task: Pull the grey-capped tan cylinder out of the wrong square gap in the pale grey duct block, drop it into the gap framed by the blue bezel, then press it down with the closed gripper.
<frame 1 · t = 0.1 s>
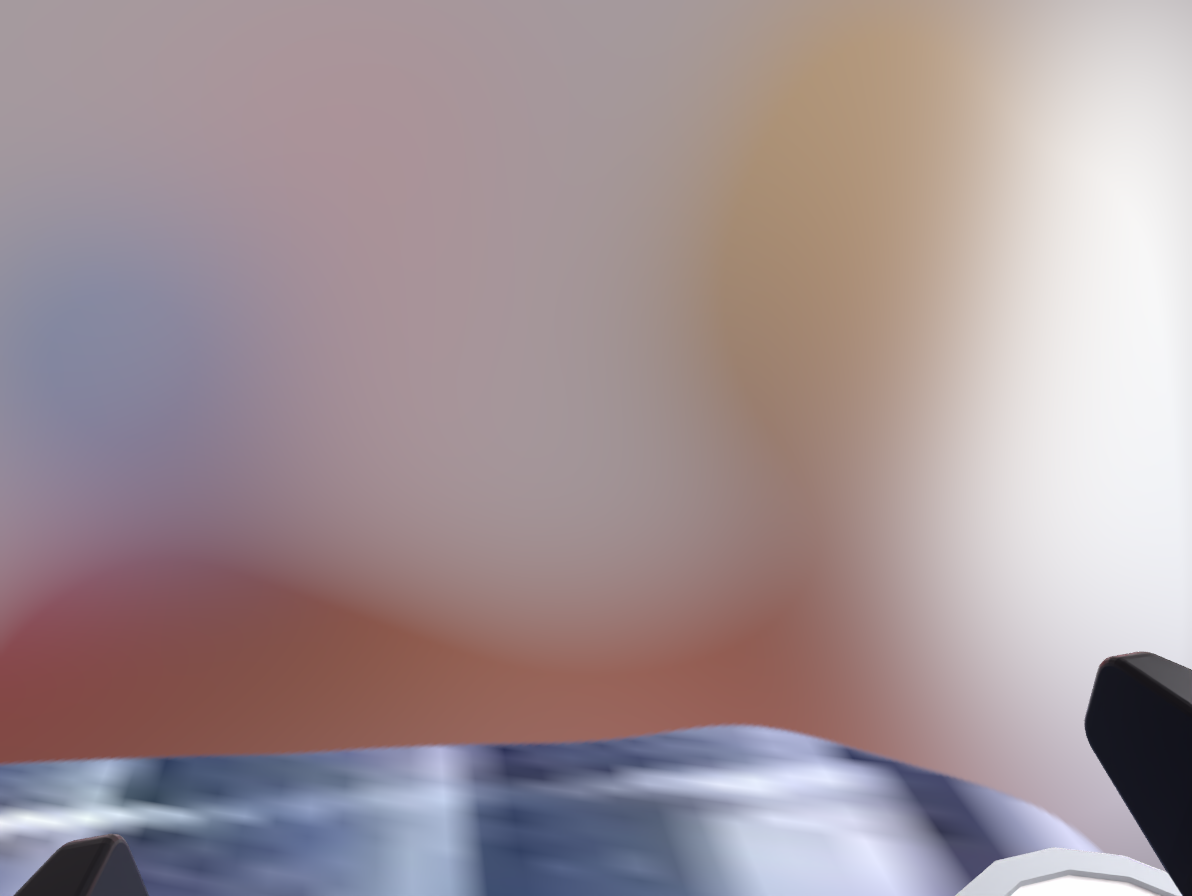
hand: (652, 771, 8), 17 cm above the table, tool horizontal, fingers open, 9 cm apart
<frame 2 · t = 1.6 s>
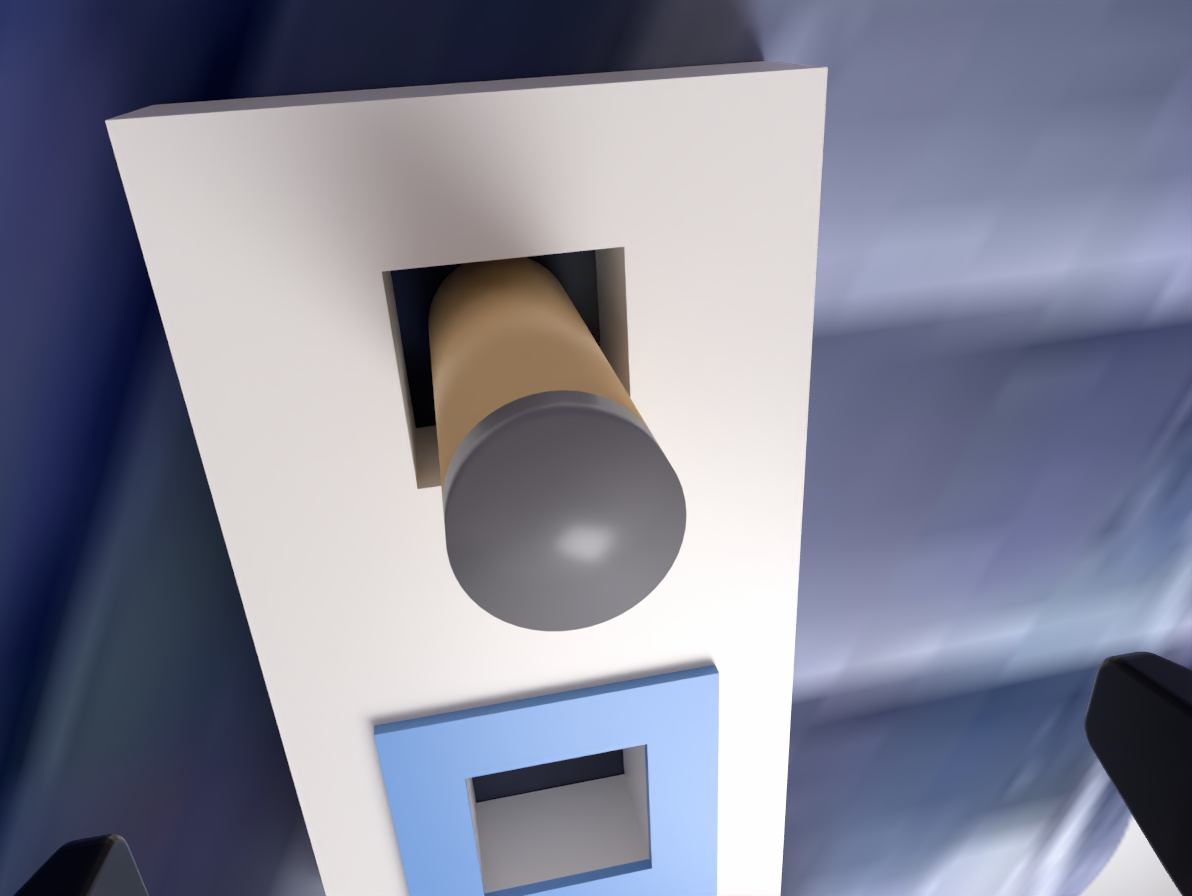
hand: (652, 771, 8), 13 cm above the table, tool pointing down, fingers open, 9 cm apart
duct block: (525, 553, 22), on the table
grey-capped tan cylinder: (501, 324, 19), resting in duct block
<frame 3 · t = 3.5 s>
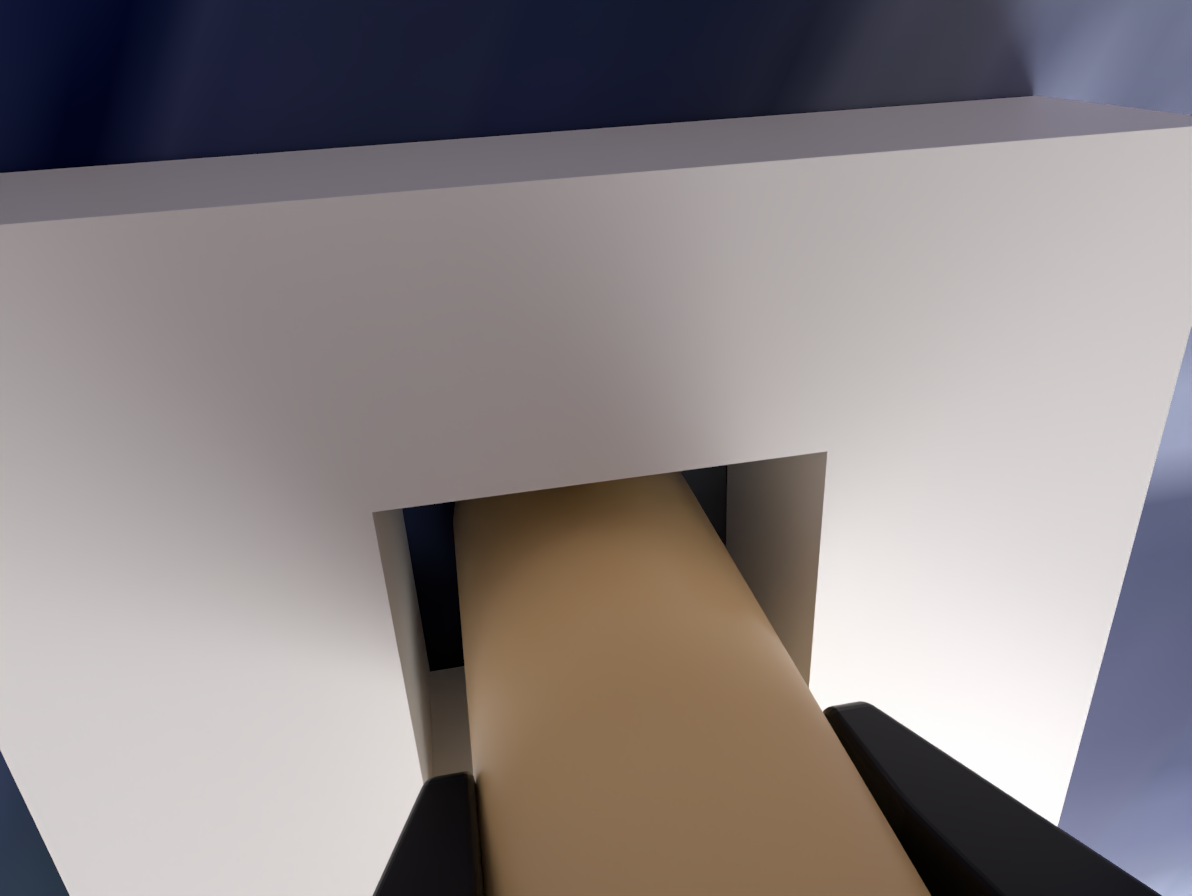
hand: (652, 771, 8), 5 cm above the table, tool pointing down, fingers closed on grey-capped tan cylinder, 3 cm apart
duct block: (593, 827, 15), on the table
grey-capped tan cylinder: (571, 518, 12), resting in duct block, touching gripper
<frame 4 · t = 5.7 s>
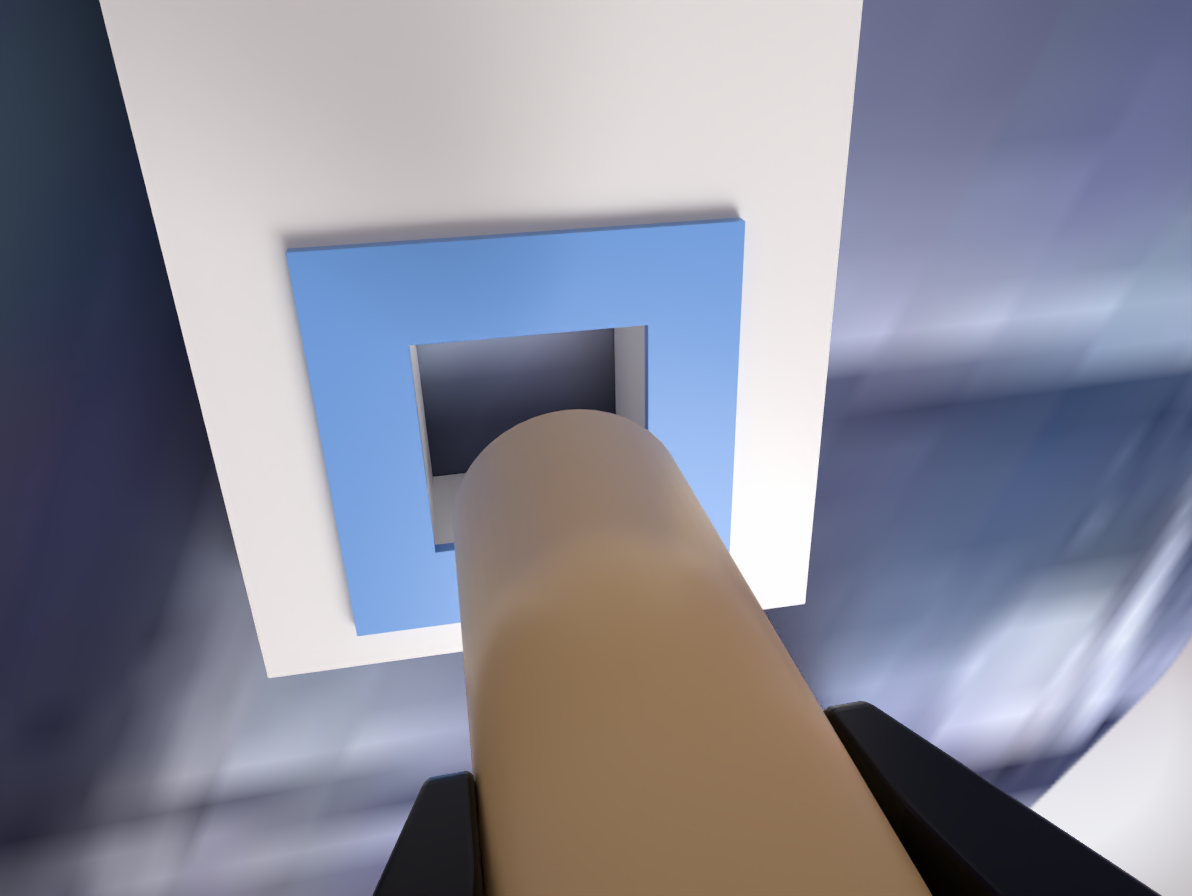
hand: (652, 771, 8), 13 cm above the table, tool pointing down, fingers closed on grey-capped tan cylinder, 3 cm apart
duct block: (499, 97, 17), on the table
grey-capped tan cylinder: (571, 517, 12), point 8 cm above the table, touching gripper
when the fingers open (6 cm above the table, at t = 8.1 s): grey-capped tan cylinder drops 1 cm, resting in duct block.
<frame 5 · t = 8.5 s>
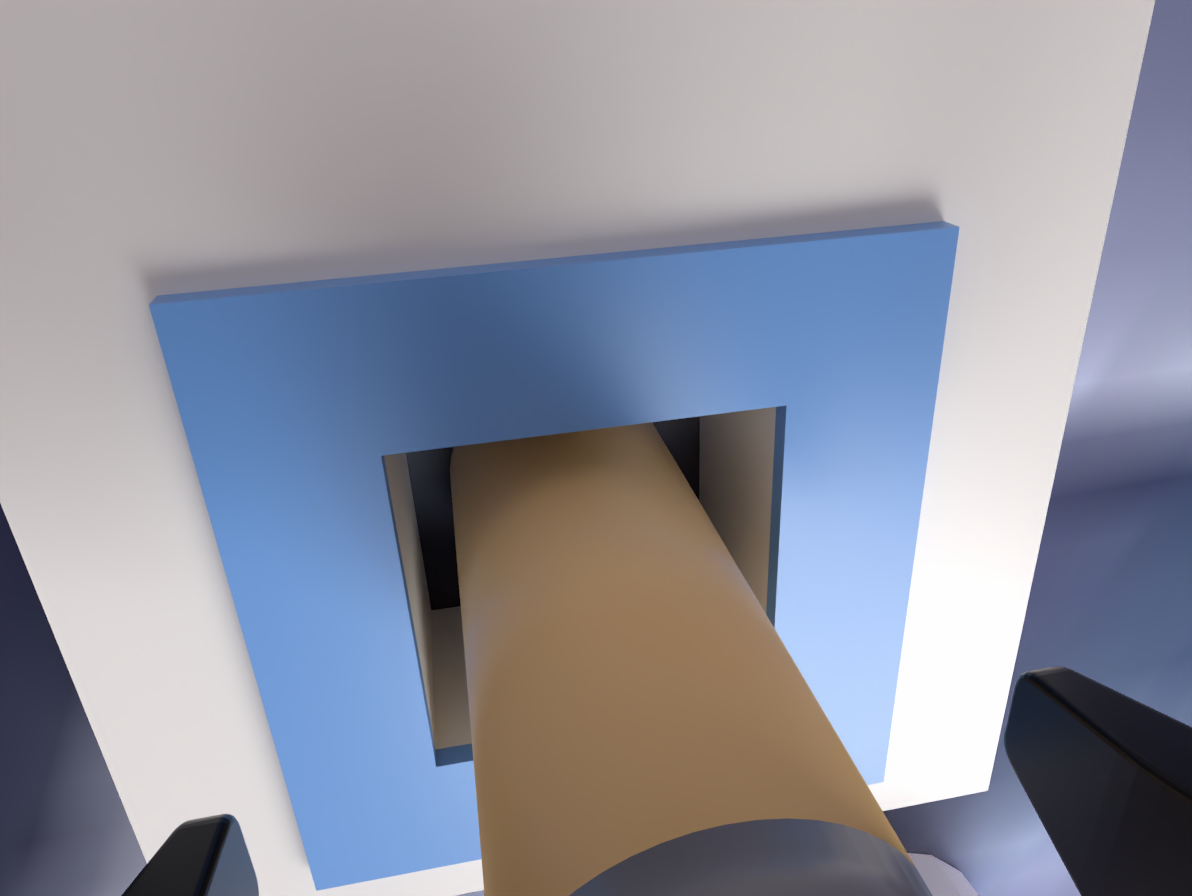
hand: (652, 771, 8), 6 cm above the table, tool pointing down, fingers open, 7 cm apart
duct block: (525, 31, 11), on the table
grey-capped tan cylinder: (557, 469, 13), resting in duct block
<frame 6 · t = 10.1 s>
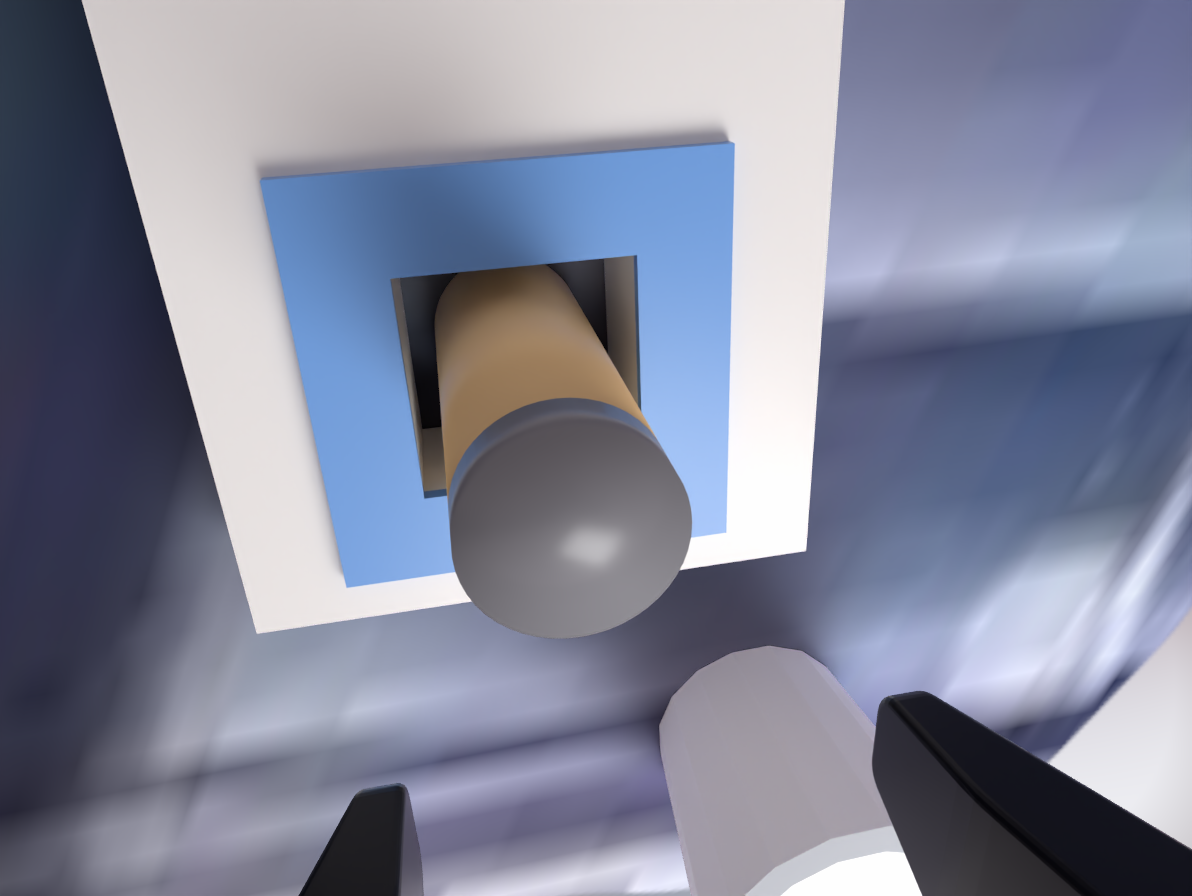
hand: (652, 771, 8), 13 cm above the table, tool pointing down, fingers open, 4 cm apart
white cylinder: (747, 717, 26), on the table
duct block: (480, 27, 17), on the table
grey-capped tan cylinder: (507, 326, 19), resting in duct block
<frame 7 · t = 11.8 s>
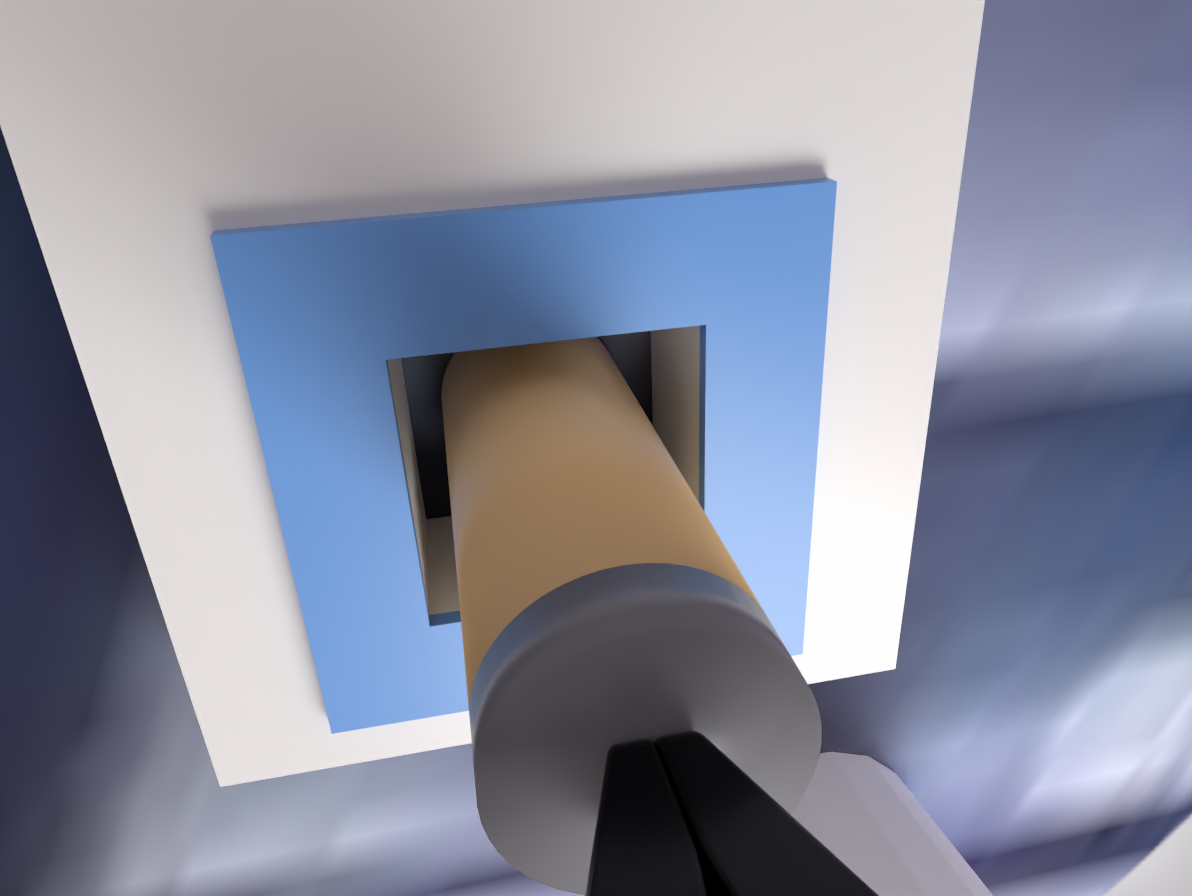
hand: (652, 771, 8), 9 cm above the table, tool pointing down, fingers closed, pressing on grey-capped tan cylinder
white cylinder: (801, 828, 23), on the table
duct block: (500, 29, 13), on the table
grey-capped tan cylinder: (531, 395, 16), resting in duct block, touching gripper
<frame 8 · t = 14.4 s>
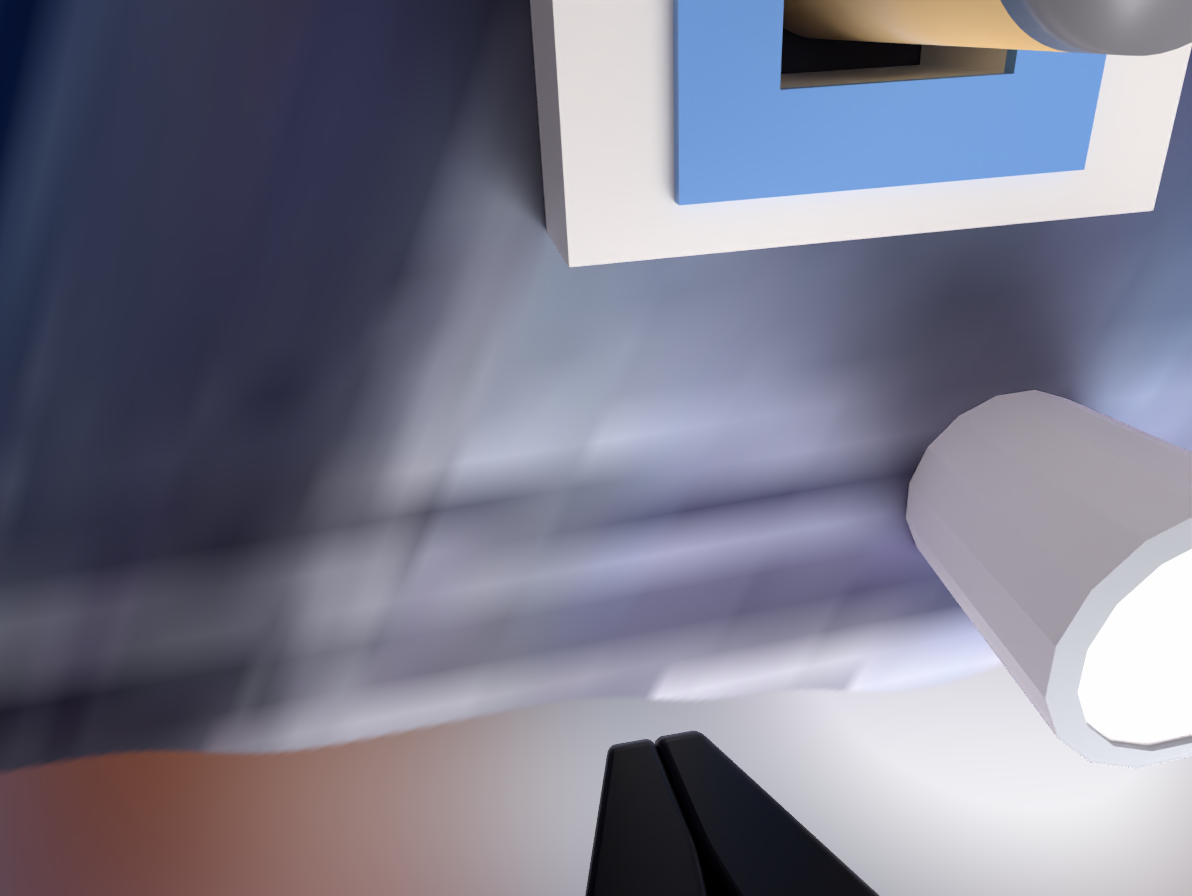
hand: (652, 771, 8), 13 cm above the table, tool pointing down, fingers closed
white cylinder: (997, 481, 24), on the table
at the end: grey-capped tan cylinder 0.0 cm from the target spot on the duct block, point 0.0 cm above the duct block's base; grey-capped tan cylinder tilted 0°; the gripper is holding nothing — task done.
